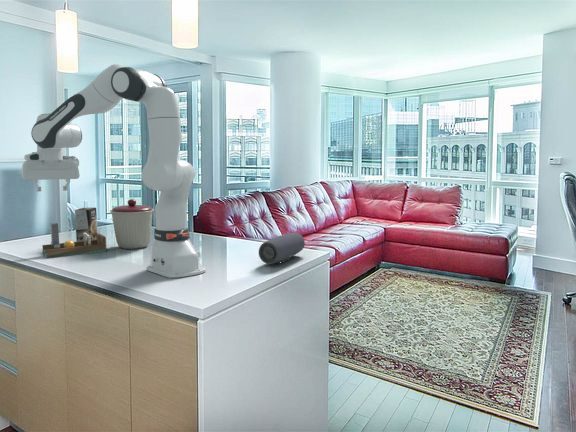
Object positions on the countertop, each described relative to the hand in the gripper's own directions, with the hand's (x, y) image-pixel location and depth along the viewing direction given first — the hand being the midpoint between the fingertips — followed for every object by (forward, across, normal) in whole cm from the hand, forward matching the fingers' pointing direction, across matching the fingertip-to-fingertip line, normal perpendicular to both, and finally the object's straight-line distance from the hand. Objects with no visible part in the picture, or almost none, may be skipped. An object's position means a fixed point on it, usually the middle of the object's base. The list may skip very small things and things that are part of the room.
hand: (52, 190), depth 176 cm
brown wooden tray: (+26, -7, 0) cm, 27 cm away
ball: (+23, -5, 0) cm, 23 cm away
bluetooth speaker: (+25, -70, +62) cm, 96 cm away
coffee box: (+26, -15, -14) cm, 33 cm away
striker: (+24, 0, 0) cm, 24 cm away
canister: (+26, -30, +4) cm, 40 cm away
